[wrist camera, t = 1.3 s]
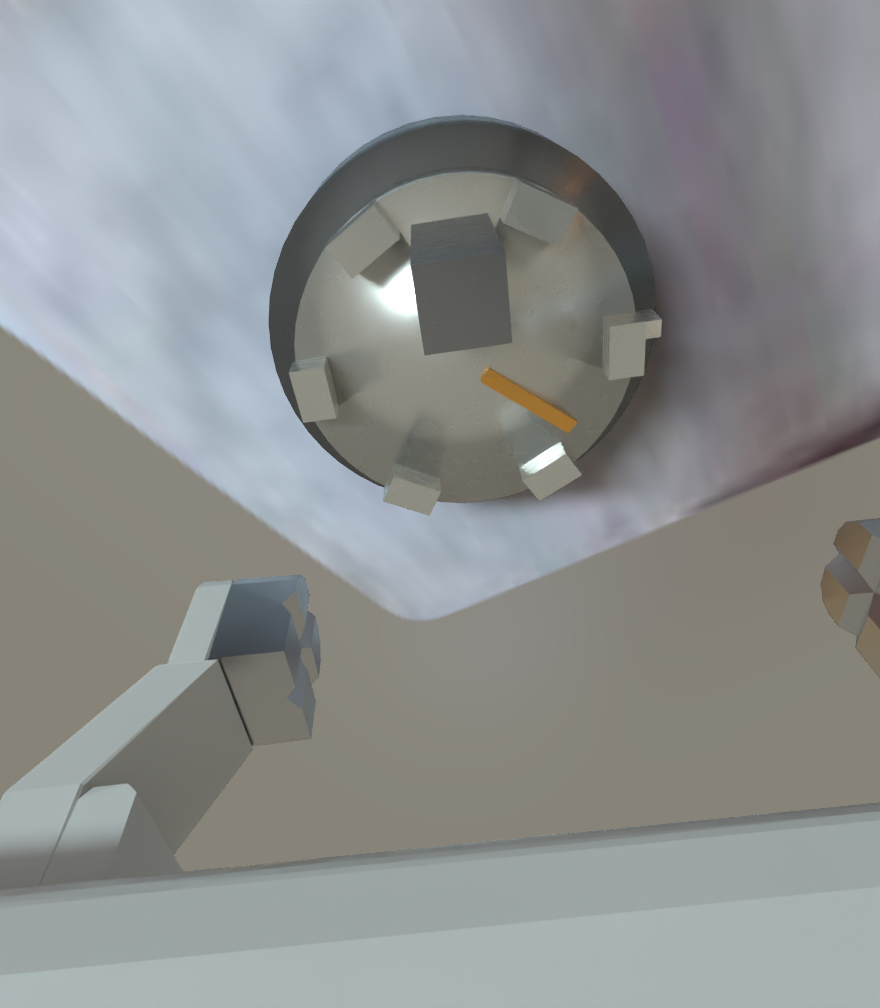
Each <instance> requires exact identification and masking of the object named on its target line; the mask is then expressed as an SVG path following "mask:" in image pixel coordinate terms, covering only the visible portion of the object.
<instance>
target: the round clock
mask: <svg viewBox="0 0 880 1008" xmlns="http://www.w3.org/2000/svg"><path fill="white" fill-rule="evenodd" d="M646 322H647V321H646V320H645V319H644V318H643V317H642V316H641V315H640V313H639V312H635V306H634V300H633V295H632V292H631V289H630V286H629V282H628V279H627V276H626V273H625V271H624V269H623V267H622V265H621V263H620V261H619V259H618V257H617V255H616V253H615V252H614V251H613V249H612V248H611V246H610V245H609V243H608V242H607V241H606V239H605V238H604V236H603V235H602V234H601V233H600V232H599V230H598V229H597V228H596V227H595V226H594V225H593V224H592V223H591V222H590V221H589V220H588V219H587V218H586V217H585V216H584V215H583V214H582V213H581V212H580V211H579V208H577V207H576V206H575V205H574V204H573V203H572V202H570V201H567V200H565V199H564V198H563V197H561V196H560V195H559V194H558V193H556V192H554V191H552V190H551V189H549V188H547V187H545V186H543V185H542V184H540V183H538V182H536V181H533V180H531V179H528V178H525V177H523V176H520V175H517V174H515V173H511V172H506V171H501V170H497V169H492V168H479V167H457V168H445V169H439V170H435V171H430V172H426V173H422V174H418V175H415V176H413V177H410V178H408V179H405V180H402V181H400V182H397V183H395V184H393V185H391V186H390V187H388V188H386V189H384V190H383V191H381V192H379V193H377V194H376V195H374V196H373V197H371V198H370V199H369V200H368V201H366V202H365V203H364V204H362V205H361V206H360V207H358V208H357V209H356V210H355V211H354V212H353V213H352V214H351V215H350V216H349V217H348V218H347V219H346V220H345V221H344V222H343V223H342V224H341V225H340V226H339V227H338V229H337V230H336V232H335V233H334V234H333V236H332V237H331V238H330V240H329V241H328V243H327V244H326V245H325V247H324V249H323V251H322V253H321V255H320V256H319V258H318V260H317V262H316V264H315V266H314V268H313V270H312V272H311V274H310V276H309V278H308V281H307V284H306V287H305V289H304V292H303V295H302V298H301V300H300V305H299V310H298V315H297V319H296V327H295V342H294V348H295V361H294V362H293V363H292V365H291V368H290V371H289V376H290V379H291V382H292V386H293V389H294V393H295V396H296V400H297V403H298V407H299V410H300V414H301V417H302V420H303V423H306V422H313V421H315V423H316V424H317V426H318V427H319V429H320V430H321V432H322V433H323V435H324V436H325V437H326V439H327V440H328V442H329V443H330V444H331V445H332V446H333V447H334V448H335V449H336V450H337V452H338V453H339V454H340V455H341V456H342V457H343V458H344V459H346V460H347V461H348V462H349V463H350V464H351V465H353V466H354V467H355V468H356V469H358V470H359V471H361V472H362V473H363V474H365V475H366V476H368V477H369V478H371V479H373V480H374V481H376V482H378V483H380V484H382V485H384V486H385V487H384V497H383V501H384V502H387V503H390V504H394V505H397V506H400V507H403V508H407V509H410V510H413V511H416V512H419V513H423V514H426V515H430V513H431V511H432V509H433V507H434V505H435V503H436V501H439V502H454V503H468V502H481V501H487V500H493V499H498V498H503V497H506V496H510V495H513V494H516V493H520V492H522V491H525V490H527V489H530V490H531V492H532V493H533V494H534V495H535V496H536V498H537V499H538V500H539V501H541V500H542V499H544V498H546V497H547V496H549V495H551V494H552V493H554V492H555V491H557V490H559V489H560V488H562V487H563V486H565V485H567V484H568V483H570V482H572V481H573V480H575V479H576V478H578V477H580V476H581V475H582V474H581V471H580V469H579V466H578V464H577V462H576V460H577V459H578V458H579V457H580V456H581V455H582V454H584V453H585V452H586V451H587V450H588V449H589V448H590V447H591V445H592V444H593V443H594V442H595V441H596V440H597V439H598V438H599V436H600V435H601V434H602V433H603V431H604V430H605V428H606V427H607V425H608V424H609V423H610V421H611V420H612V418H613V417H614V415H615V413H616V411H617V409H618V407H619V405H620V403H621V402H622V400H623V397H624V394H625V392H626V389H627V387H628V384H629V381H630V378H631V377H637V376H644V363H645V342H646Z"/></svg>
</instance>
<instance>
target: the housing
mask: <svg viewBox="0 0 880 1008" xmlns="http://www.w3.org/2000/svg"><path fill="white" fill-rule="evenodd" d="M457 167H479V168H492V169H497V170H501V171H506V172H511V173H515V174H517V175H520V176H523V177H525V178H528V179H531V180H533V181H536V182H538V183H540V184H542V185H543V186H545V187H547V188H549V189H551V190H552V191H554V192H556V193H558V194H559V195H560V196H561V197H563V198H564V199H565V200H567V201H570V202H572V203H573V204H574V205H575V206H576V207H577V208H579V211H580V212H581V213H582V214H583V215H584V216H585V217H586V218H587V219H588V220H589V221H590V222H591V223H592V224H593V225H594V226H595V227H596V228H597V229H598V230H599V232H600V233H601V234H602V235H603V236H604V238H605V239H606V241H607V242H608V243H609V245H610V246H611V248H612V249H613V251H614V252H615V253H616V255H617V257H618V259H619V261H620V263H621V265H622V267H623V269H624V271H625V273H626V276H627V279H628V282H629V286H630V289H631V292H632V295H633V300H634V306H635V312H639V313H640V315H641V316H642V317H643V318H644V319H645V320H646V321H647V322H646V342H645V363H644V369H645V367H646V364H647V360H648V357H649V353H650V349H651V345H652V341H653V338H657V337H661V326H662V319H661V318H660V317H659V316H658V315H657V314H656V313H655V287H654V280H653V273H652V267H651V263H650V260H649V257H648V253H647V250H646V246H645V243H644V240H643V238H642V236H641V234H640V232H639V230H638V227H637V225H636V223H635V221H634V219H633V217H632V215H631V214H630V212H629V211H628V209H627V208H626V206H625V205H624V203H623V202H622V200H621V199H620V197H619V196H618V194H617V193H616V192H615V191H614V190H613V189H612V188H611V187H610V186H609V184H608V183H607V182H606V181H605V180H604V179H603V178H602V177H601V176H600V174H598V173H597V172H596V171H595V170H593V169H592V168H591V167H590V166H589V165H587V164H586V163H585V162H584V161H582V160H581V159H580V158H579V157H577V156H576V155H574V154H573V153H571V152H569V151H568V150H566V149H564V148H563V147H561V146H559V145H558V144H556V143H554V142H553V141H551V140H549V139H547V138H546V137H544V136H542V135H541V134H539V133H537V132H535V131H532V130H530V129H527V128H525V127H522V126H520V125H517V124H515V123H511V122H507V121H503V120H498V119H494V118H489V117H480V116H465V115H457V116H445V117H434V118H430V119H425V120H421V121H417V122H413V123H409V124H406V125H404V126H401V127H399V128H396V129H394V130H391V131H389V132H386V133H384V134H382V135H380V136H379V137H377V138H375V139H374V140H372V141H370V142H369V143H367V144H365V145H363V146H362V147H360V148H359V149H358V150H357V151H355V152H354V153H353V154H352V155H350V156H349V157H348V158H347V159H345V160H344V161H343V162H342V163H340V165H339V166H338V167H337V168H336V169H335V170H334V171H333V172H332V173H331V174H330V175H329V176H328V177H327V179H326V180H325V181H324V182H323V183H322V184H321V186H320V187H319V188H318V190H317V191H316V193H315V194H314V195H313V197H312V198H311V199H310V201H309V202H308V204H307V205H306V207H305V208H304V210H303V211H302V213H301V214H300V215H299V217H298V218H297V220H296V221H295V223H294V225H293V227H292V229H291V231H290V233H289V235H288V237H287V239H286V241H285V243H284V245H283V248H282V251H281V254H280V257H279V260H278V263H277V266H276V269H275V272H274V277H273V283H272V288H271V294H270V305H269V331H270V342H271V350H272V354H273V358H274V363H275V367H276V371H277V374H278V377H279V379H280V382H281V385H282V387H283V390H284V393H285V395H286V396H287V398H288V400H289V402H290V404H291V406H292V408H293V410H294V412H295V413H296V415H297V416H298V418H299V419H300V421H301V422H302V423H303V420H302V417H301V414H300V410H299V407H298V403H297V400H296V396H295V393H294V389H293V386H292V382H291V379H290V376H289V371H290V368H291V365H292V363H293V362H294V361H295V348H294V342H295V327H296V319H297V315H298V310H299V305H300V300H301V298H302V295H303V292H304V289H305V287H306V284H307V281H308V278H309V276H310V274H311V272H312V270H313V268H314V266H315V264H316V262H317V260H318V258H319V256H320V255H321V253H322V251H323V249H324V247H325V245H326V244H327V243H328V241H329V240H330V238H331V237H332V236H333V234H334V233H335V232H336V230H337V229H338V227H339V226H340V225H341V224H342V223H343V222H344V221H345V220H346V219H347V218H348V217H349V216H350V215H351V214H352V213H353V212H354V211H355V210H356V209H357V208H358V207H360V206H361V205H362V204H364V203H365V202H366V201H368V200H369V199H370V198H371V197H373V196H374V195H376V194H377V193H379V192H381V191H383V190H384V189H386V188H388V187H390V186H391V185H393V184H395V183H397V182H400V181H402V180H405V179H408V178H410V177H413V176H415V175H418V174H422V173H426V172H430V171H435V170H439V169H445V168H457ZM641 377H642V376H637V377H631V378H630V381H629V384H628V387H627V389H626V392H625V394H624V397H623V400H622V402H621V403H620V405H619V407H618V409H617V411H616V413H615V415H614V417H613V418H612V420H611V421H610V423H609V424H608V425H607V427H606V428H605V430H604V431H603V433H602V434H601V435H600V436H599V438H598V439H597V440H596V441H595V442H594V443H593V444H592V445H591V447H590V448H589V449H588V450H587V451H586V452H585V453H584V454H582V455H581V456H580V457H579V458H578V459H577V460H579V459H580V458H582V457H583V456H584V455H585V454H586V453H587V452H588V451H589V450H591V449H592V448H593V447H594V446H595V445H596V444H597V443H598V442H599V441H600V440H601V439H602V438H603V437H604V436H605V434H606V433H607V432H608V431H609V430H610V429H611V428H612V427H613V426H614V424H615V423H616V421H617V420H618V418H619V417H620V416H621V414H622V413H623V411H624V410H625V409H626V407H627V405H628V404H629V402H630V400H631V398H632V396H633V394H634V392H635V391H636V389H637V387H638V385H639V382H640V380H641ZM303 425H304V426H305V428H306V429H307V431H308V432H309V433H310V434H311V435H312V436H313V437H314V439H315V440H316V441H317V442H318V443H319V444H320V445H321V446H322V447H323V448H324V449H325V450H326V451H327V452H328V453H329V454H330V455H332V456H333V457H334V458H335V459H336V460H337V461H339V462H340V463H341V464H343V465H344V466H346V467H347V468H349V469H350V470H352V471H353V472H354V473H356V474H357V475H359V476H361V477H363V478H365V479H367V480H369V481H371V482H373V483H375V484H377V485H379V486H382V487H385V486H384V485H382V484H380V483H378V482H376V481H374V480H373V479H371V478H369V477H368V476H366V475H365V474H363V473H362V472H361V471H359V470H358V469H356V468H355V467H354V466H353V465H351V464H350V463H349V462H348V461H347V460H346V459H344V458H343V457H342V456H341V455H340V454H339V453H338V452H337V450H336V449H335V448H334V447H333V446H332V445H331V444H330V443H329V442H328V440H327V439H326V437H325V436H324V435H323V433H322V432H321V430H320V429H319V427H318V426H317V424H316V423H315V421H313V422H306V423H303ZM577 460H576V461H577Z"/></svg>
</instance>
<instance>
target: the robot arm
mask: <svg viewBox="0 0 880 1008" xmlns="http://www.w3.org/2000/svg"><path fill="white" fill-rule="evenodd" d="M834 546H835V547H836V549H837V551H838V552H839V555H838V556H837V557H835V558H834V559H833V560H832V561H831V562H830V563H829V564H828V565H827V566H826V567H825V570H824V574H823V577H822V581H821V589H822V598H823V602H824V604H825V607H826V609H827V611H828V613H829V615H830V616H831V617H832V619H833V620H834V621H835V623H836V624H837V625H838V626H839V627H841V628H843V629H845V630H847V631H849V632H851V633H852V634H854V635H856V636H857V640H856V649H857V651H858V652H859V653H860V654H861V655H862V657H863V658H864V659H865V660H866V662H867V663H868V664H869V665H870V667H871V668H872V669H873V670H874V672H875V673H876V674H877V675H878V676H879V678H880V518H877V519H867V520H858V521H848V522H845V523H844V524H843V525H842V527H841V528H840V529H839V530H838V532H837V534H836V537H835V540H834ZM309 597H310V594H309V590H308V587H307V583H306V580H305V578H304V577H303V576H302V575H290V576H276V577H263V578H250V579H237V580H236V581H234V580H229V581H217V582H205V583H202V584H201V585H200V586H199V587H198V588H197V589H196V591H195V593H194V596H193V599H192V602H191V604H190V606H189V609H188V612H187V614H186V617H185V619H184V622H183V624H182V627H181V630H180V633H179V635H178V637H177V640H176V643H175V645H174V648H173V651H172V653H171V656H170V658H169V661H168V663H167V664H165V665H157V666H156V667H155V668H153V669H152V670H151V671H150V672H148V673H147V674H146V675H145V676H144V677H142V678H141V679H140V680H139V681H138V682H137V683H135V684H134V685H133V686H132V687H130V688H129V689H128V690H127V691H126V692H124V693H123V694H122V695H121V696H120V697H119V698H117V699H116V700H115V701H114V702H113V703H111V704H110V705H109V706H108V707H107V708H105V709H104V710H103V711H102V712H101V713H99V714H98V715H97V716H96V717H95V718H93V719H92V720H91V721H90V722H89V723H88V724H86V725H85V726H84V727H83V728H82V729H80V730H79V731H78V732H77V733H76V734H74V735H73V736H72V737H71V738H70V739H68V740H67V741H66V742H65V743H64V744H62V745H61V746H60V747H59V748H58V749H56V750H55V751H54V752H53V753H52V754H50V755H49V756H48V757H47V758H46V759H45V760H43V761H42V762H41V763H40V764H38V765H37V766H36V767H35V768H34V769H32V770H31V771H30V772H29V773H28V774H26V775H25V776H24V777H23V778H22V779H21V780H20V781H18V782H17V783H16V784H15V785H13V786H12V787H11V788H10V789H9V790H7V791H6V792H5V793H4V795H3V797H2V799H1V801H0V1008H880V802H878V803H868V804H859V805H848V806H838V807H828V808H819V809H809V810H799V811H790V812H779V813H769V814H759V815H749V816H740V817H729V818H719V819H708V820H699V821H688V822H679V823H668V824H658V825H648V826H638V827H627V828H617V829H607V830H597V831H587V832H577V833H567V834H556V835H547V836H536V837H526V838H516V839H507V840H496V841H486V842H476V843H466V844H457V845H446V846H436V847H426V848H417V849H406V850H397V851H387V852H376V853H366V854H356V855H346V856H336V857H326V858H316V859H306V860H296V861H286V862H275V863H265V864H255V865H246V866H235V867H226V868H215V869H205V870H195V871H185V872H183V870H182V868H181V867H180V865H179V863H178V862H177V860H176V858H175V856H174V854H175V853H176V851H177V850H178V849H179V847H180V846H181V845H182V843H183V842H184V841H185V839H186V838H187V837H188V835H189V834H190V833H191V831H192V830H193V829H194V827H195V826H196V825H197V823H198V822H199V821H200V819H201V818H202V817H203V815H204V814H205V813H206V812H207V810H208V809H209V807H210V806H211V805H212V804H213V802H214V801H215V800H216V798H217V797H218V796H219V794H220V793H221V791H222V790H223V789H224V788H225V786H226V785H227V784H228V782H229V781H230V780H231V778H232V777H233V776H234V774H235V773H236V772H237V770H238V769H239V768H240V766H241V765H242V763H243V762H244V761H245V760H246V758H247V757H248V756H249V754H250V753H251V752H252V750H253V749H252V746H259V745H268V744H275V743H283V742H291V741H299V740H307V739H311V735H312V727H313V720H314V712H315V704H316V699H315V696H314V692H313V688H312V684H313V683H314V682H315V681H316V680H317V679H318V677H319V672H320V662H321V657H320V637H319V630H318V625H317V621H316V617H315V616H314V615H313V614H312V613H310V612H309V611H308V603H309Z"/></svg>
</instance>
